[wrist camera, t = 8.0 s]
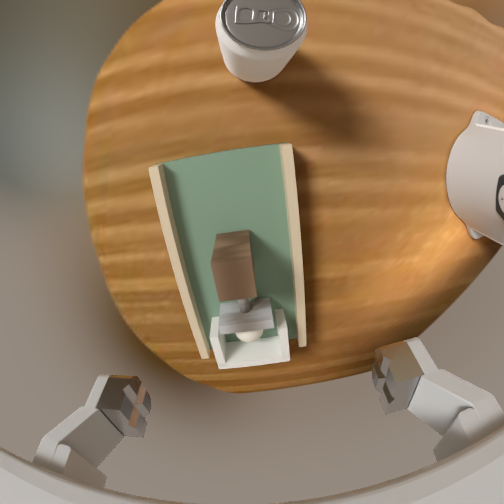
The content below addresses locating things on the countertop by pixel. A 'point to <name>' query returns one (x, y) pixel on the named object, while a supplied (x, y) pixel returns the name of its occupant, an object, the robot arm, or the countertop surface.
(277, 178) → the pitch
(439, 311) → the countertop surface
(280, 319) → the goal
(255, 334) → the ball
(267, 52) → the can
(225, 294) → the block
